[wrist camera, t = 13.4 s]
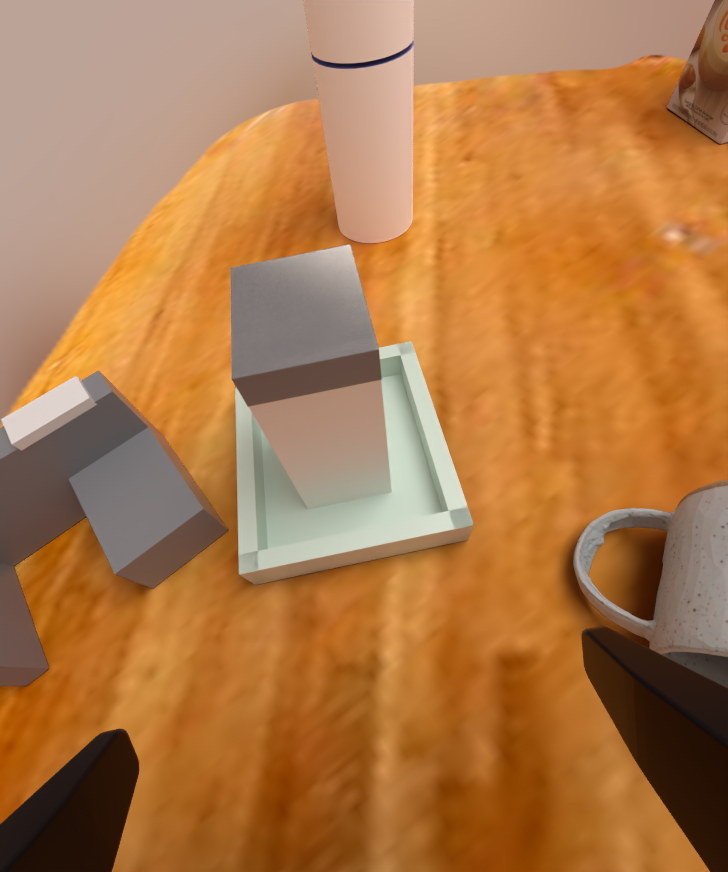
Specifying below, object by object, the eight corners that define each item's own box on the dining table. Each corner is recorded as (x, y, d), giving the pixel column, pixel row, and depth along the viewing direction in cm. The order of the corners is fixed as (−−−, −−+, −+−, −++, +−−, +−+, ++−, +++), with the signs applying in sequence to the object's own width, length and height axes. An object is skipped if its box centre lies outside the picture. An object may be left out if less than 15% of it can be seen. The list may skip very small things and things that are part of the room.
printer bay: (228, 530, 24) (165, 476, 18) (26, 686, 21) (-137, 686, 15) (163, 436, 28) (93, 365, 22) (-15, 554, 25) (-156, 510, 19)
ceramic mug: (805, 561, 21) (982, 502, 14) (819, 746, 17) (1065, 781, 11) (580, 491, 24) (641, 417, 17) (552, 634, 20) (615, 608, 14)
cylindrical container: (356, 252, 37) (283, -330, 16) (327, 214, 41) (236, -302, 19) (426, 226, 38) (446, -354, 17) (392, 191, 42) (373, -323, 20)
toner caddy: (392, 492, 24) (379, 349, 14) (307, 509, 24) (231, 379, 14) (372, 409, 27) (350, 244, 17) (298, 425, 27) (230, 267, 17)
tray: (467, 539, 23) (473, 524, 21) (255, 584, 23) (239, 574, 21) (411, 365, 30) (411, 341, 28) (247, 399, 29) (234, 377, 27)
